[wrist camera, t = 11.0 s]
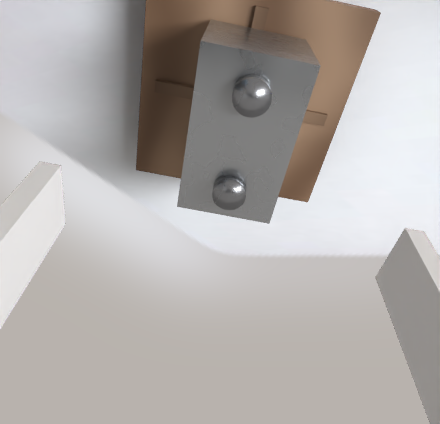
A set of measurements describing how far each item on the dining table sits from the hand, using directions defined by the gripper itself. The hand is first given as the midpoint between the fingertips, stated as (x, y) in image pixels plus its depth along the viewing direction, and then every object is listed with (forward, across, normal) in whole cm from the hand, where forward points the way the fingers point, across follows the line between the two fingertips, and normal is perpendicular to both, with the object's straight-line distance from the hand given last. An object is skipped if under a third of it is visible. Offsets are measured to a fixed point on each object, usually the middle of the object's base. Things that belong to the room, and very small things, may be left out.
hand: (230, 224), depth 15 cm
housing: (+14, 0, 0) cm, 14 cm away
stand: (+17, 0, 0) cm, 17 cm away
